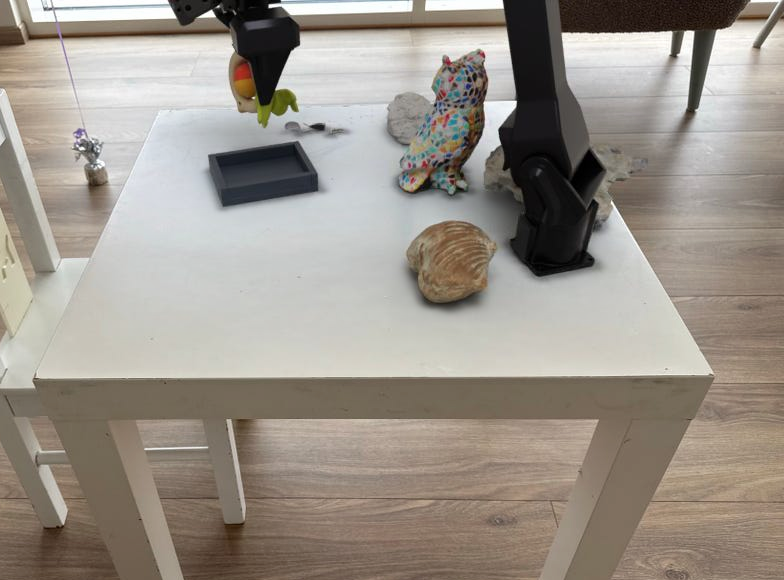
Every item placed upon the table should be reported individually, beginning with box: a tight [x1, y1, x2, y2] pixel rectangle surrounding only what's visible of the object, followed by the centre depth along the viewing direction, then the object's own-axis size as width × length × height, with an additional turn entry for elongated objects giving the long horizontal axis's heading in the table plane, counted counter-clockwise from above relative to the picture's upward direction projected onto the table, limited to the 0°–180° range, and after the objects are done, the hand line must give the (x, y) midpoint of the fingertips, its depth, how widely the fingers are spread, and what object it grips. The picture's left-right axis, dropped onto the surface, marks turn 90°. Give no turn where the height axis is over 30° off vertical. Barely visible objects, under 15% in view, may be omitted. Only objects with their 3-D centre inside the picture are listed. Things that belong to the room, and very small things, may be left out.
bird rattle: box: [227, 50, 300, 129], centre depth 81 cm, size 6×11×9 cm
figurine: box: [397, 48, 489, 195], centre depth 83 cm, size 9×9×15 cm
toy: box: [284, 120, 345, 137], centre depth 99 cm, size 1×8×2 cm
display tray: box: [207, 140, 319, 207], centre depth 89 cm, size 12×9×2 cm
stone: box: [386, 91, 433, 145], centre depth 98 cm, size 10×5×10 cm
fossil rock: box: [482, 141, 649, 227], centre depth 82 cm, size 20×6×15 cm
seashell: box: [405, 219, 499, 304], centre depth 71 cm, size 9×7×8 cm
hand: (256, 90), depth 82 cm, fingers closed on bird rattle, 8 cm apart
